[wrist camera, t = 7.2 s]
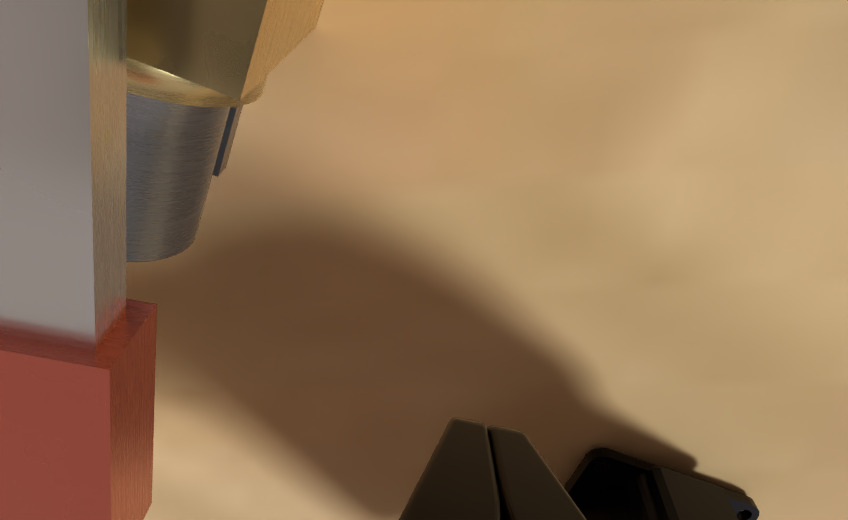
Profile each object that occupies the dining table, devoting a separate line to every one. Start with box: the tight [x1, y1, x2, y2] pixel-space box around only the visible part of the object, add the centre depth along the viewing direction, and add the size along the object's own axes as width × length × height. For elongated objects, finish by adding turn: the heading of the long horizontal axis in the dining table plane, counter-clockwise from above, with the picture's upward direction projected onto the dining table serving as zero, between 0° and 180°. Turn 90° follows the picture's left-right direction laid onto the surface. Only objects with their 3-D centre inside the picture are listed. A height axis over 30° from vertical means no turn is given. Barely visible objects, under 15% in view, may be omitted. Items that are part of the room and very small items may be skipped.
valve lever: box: [0, 0, 157, 520], centre depth 11 cm, size 15×3×2 cm, turn 168°
